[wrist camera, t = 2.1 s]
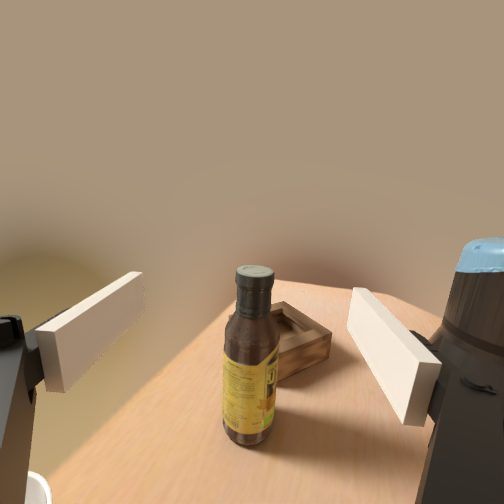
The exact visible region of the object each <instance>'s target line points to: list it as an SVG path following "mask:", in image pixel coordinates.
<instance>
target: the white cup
mask: <svg viewBox="0 0 504 504" xmlns="http://www.w3.org/2000/svg"><path fill="white" fill-rule="evenodd" d="M25 504H53V497H52V491H51V488H50V486H49V484H48V482H47V481H46V480H45V479H44V478H43V477H42V476H41V475H39V474H37V473H35V472H31V471H28V477H27V486H26V495H25Z"/></svg>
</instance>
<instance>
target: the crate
mask: <svg viewBox="0 0 504 504" xmlns="http://www.w3.org/2000/svg"><path fill="white" fill-rule="evenodd" d="M270 312H271V314H272V316H273V318H274V319H275V321H276V323H277V325H278V328H279V335H280V343H279V356H278V374H277V382H278V381H280V380H282V379H284V378H286V377H288V376H290V375H293V374H295V373H297V372H299V371H301V370H303V369H305V368H307V367H310V366H312V365H314V364H316V363H318V362H320V361H322V360H325V359H327V358H329V351H330V345H331V338H332V332H331V331H329V330H328V329H326V328H325V327H323V326H322V325H320V324H318V323H317V322H315V321H314V320H312V319H311V318H309V317H308V316H306V315H304V314H303V313H301V312H300V311H298V310H297V309H295V308H294V307H292V306H291V305H289V304H287V303H286V302H284V301H283V302H279V303H275V304H271V311H270ZM231 316H232V315H229V320H230V318H231Z"/></svg>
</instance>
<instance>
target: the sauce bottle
mask: <svg viewBox="0 0 504 504" xmlns="http://www.w3.org/2000/svg"><path fill="white" fill-rule="evenodd" d="M235 281H236V284H237V302H236V311H235V312H234V314H233V315H232V316H231V318H230V320H229V321H228V323H227V325H226V328H225V344H224V358H223V400H222V413H223V425H224V429H225V431H226V433H227V435H228V436H229V438H230V439H231V440H233V441H234V442H236V443H239V444H242V445H253V444H257V443H259V442H261V441H262V440H263V439H265V438H266V437H267V436H268V434H269V432H270V429H271V425H272V421H273V418H274V410H275V398H276V385H277V374H278V356H279V343H280V335H279V328H278V325H277V323H276V321H275V319H274V318H273V316H272V314H271V312H270V311H271V290H272V287H273V284H274V271H273V270H272V269H270V268H267V267H264V266H258V265H246V266H241V267H239V268H238V269H237V270H236V278H235Z"/></svg>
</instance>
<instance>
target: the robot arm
mask: <svg viewBox="0 0 504 504" xmlns="http://www.w3.org/2000/svg"><path fill="white" fill-rule="evenodd" d="M455 271H456V273H455V277H454V280H453V284H452V288H451V291H450V295H449V299H448V303H447V306H446V310H445V313H444V317H443V320H442V324H441V326H440V327H439V328H438V329H437V331H436V332H435V333H434V334H433V335H432V337H431V338H430V339H429V340H427V339H426V338H425V337H423V336H421V335H420V334H418V333H416V332H415V331H411V330H408V329H407V328H406V327H405V326H404V325H403V324H402V323H401V322H400V321H399V320H398V319H397V318H396V317H395V316H394V315H393V314H392V313H391V312H390V311H389V310H388V309H387V308H386V307H385V306H384V305H383V304H382V303H381V302H380V301H379V300H378V299H377V298H376V297H375V296H374V295H373V294H372V293H371V292H369V291H368V290H367V289H366V288H355V287H354V288H353V293H352V299H351V305H350V311H349V317H348V323H347V329H348V331H349V333H350V334H351V336H352V338H353V339H354V341H355V343H356V345H357V346H358V348H359V350H360V352H361V353H362V355H363V357H364V358H365V360H366V362H367V364H368V365H369V367H370V369H371V371H372V372H373V374H374V376H375V378H376V379H377V381H378V383H379V384H380V386H381V388H382V390H383V391H384V393H385V395H386V397H387V398H388V400H389V402H390V403H391V405H392V407H393V409H394V410H395V412H396V414H397V416H398V417H399V419H400V421H401V423H402V424H403V425H411V426H422V427H424V424H425V421H426V417H427V414H429V416H430V417H431V418H432V420H433V421H434V423H435V425H434V429H433V432H432V435H431V438H430V442H429V445H428V452H427V456H426V461H425V465H424V469H423V473H422V477H421V481H420V485H419V489H418V493H417V497H416V501H415V504H504V237H502V238H501V237H498V238H482V239H477V240H473V241H471V242H469V243H468V244H467V245H466V246H465V247H464V249H463V251H462V254H461V257H460V260H459V262H458V265H457V266H456V267H455ZM144 313H145V303H144V287H143V273H141V272H129V273H128V274H126V275H125V276H123V277H121V278H120V279H118V280H116V281H115V282H113V283H111V284H110V285H108V286H106V287H105V288H103V289H101V290H100V291H98V292H97V293H95V294H93V295H92V296H90V297H88V298H87V299H85V300H83V301H82V302H80V303H78V304H77V305H75V306H73V307H71V308H68V309H65V310H64V311H62V312H60V313H58V314H57V315H55V317H52V318H50V319H48V320H47V321H45V322H43V323H41V324H40V325H39V326H36V327H35V328H33V329H31V330H30V331H28V332H26V333H25V334H24V330H23V325H22V320H21V317H20V316H17V315H6V316H0V504H25V495H26V486H27V477H28V467H29V458H30V449H31V441H32V431H33V422H34V413H35V404H36V395H37V393H36V388H35V386H36V385H37V384H38V383H39V382H40V381H42V380H43V379H44V382H45V386H46V391H49V392H60V393H65V392H66V391H67V390H68V389H69V388H70V387H71V386H72V385H73V384H74V383H75V382H76V381H77V380H78V379H79V378H80V377H81V376H82V375H83V374H84V373H85V372H86V371H87V370H88V369H89V368H90V367H91V366H92V365H93V364H94V363H95V362H96V361H97V360H98V359H99V358H100V357H101V356H102V355H103V354H104V353H105V352H106V351H107V350H108V349H109V348H110V347H111V346H112V345H113V344H114V343H115V342H116V341H117V340H118V339H119V338H120V337H121V336H122V335H123V334H124V333H125V332H126V330H128V329H129V328H130V327H131V326H132V325H133V324H134V323H135V322H136V321H137V319H139V318H140V317H141V316H142V315H143V314H144Z"/></svg>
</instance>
